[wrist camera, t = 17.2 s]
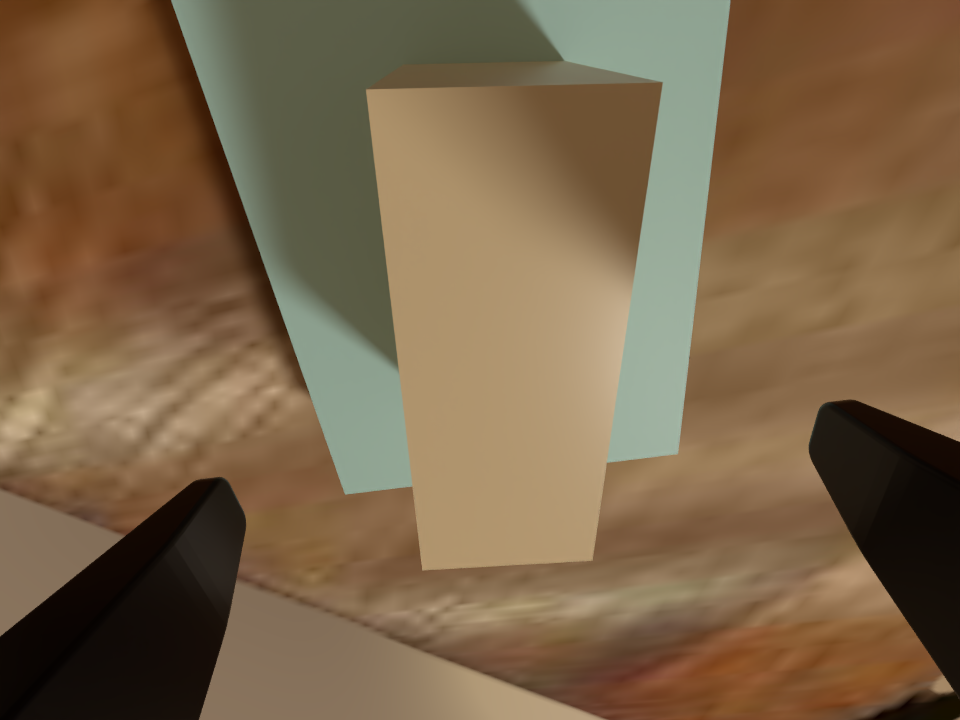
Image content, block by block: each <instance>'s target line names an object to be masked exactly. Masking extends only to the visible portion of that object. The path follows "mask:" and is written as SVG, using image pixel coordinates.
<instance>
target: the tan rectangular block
mask: <svg viewBox="0 0 960 720" xmlns="http://www.w3.org/2000/svg"><path fill="white" fill-rule="evenodd" d="M662 85H663V82H659V81H654V80H650V79H645V78H641V77H636V76H631V75H627V74H622V73H618V72H613V71H609V70H604V69H600V68H595V67H590V66H586V65H581V64H577V63H572V62H568V61H536V62H491V63H446V64H403V65H402V66H400V67H399V68H397V69H396V70H394V71H393V72H391V73H390V74H388V75H387V76H385V77H384V78H382V79H381V80H379V81H378V82H376V83H375V84H373V85H372V86H370V87H369V88H367V89H366V94H367V103H368V112H369V120H370V129H371V137H372V146H373V154H374V163H375V171H376V180H377V188H378V197H379V205H380V214H381V222H382V231H383V239H384V248H385V256H386V265H387V273H388V282H389V290H390V299H391V307H392V316H393V324H394V333H395V341H396V350H397V358H398V367H399V375H400V384H401V392H402V401H403V409H404V418H405V426H406V435H407V443H408V452H409V460H410V469H411V477H412V486H413V494H414V503H415V511H416V520H417V528H418V537H419V545H420V554H421V563H422V570H436V569H453V568H471V567H488V566H506V565H523V564H541V563H558V562H576V561H592V559H593V552H594V546H595V539H596V532H597V525H598V519H599V512H600V505H601V498H602V492H603V485H604V478H605V471H606V464H607V458H608V451H609V444H610V437H611V431H612V424H613V417H614V410H615V404H616V397H617V390H618V383H619V376H620V370H621V363H622V356H623V349H624V343H625V336H626V329H627V322H628V316H629V309H630V302H631V295H632V289H633V282H634V275H635V268H636V261H637V255H638V248H639V241H640V234H641V228H642V221H643V214H644V207H645V201H646V194H647V187H648V180H649V173H650V167H651V160H652V153H653V146H654V140H655V133H656V126H657V119H658V113H659V106H660V99H661V92H662Z"/></svg>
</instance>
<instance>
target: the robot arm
mask: <svg viewBox="0 0 960 720" xmlns="http://www.w3.org/2000/svg"><path fill="white" fill-rule="evenodd" d="M809 454H810V458H811V460H812V462H813V464H814V466H815V468H816V470H817V472H818V474H819V475H820V477H821V479H822V481H823V483H824V485H825V487H826V489H827V490H828V492H829V494H830V496H831V498H832V500H833V502H834V504H835V505H836V507H837V509H838V511H839V513H840V515H841V517H842V518H843V520H844V522H845V524H846V526H847V528H848V530H849V532H850V533H851V535H852V537H853V539H854V541H855V542H856V544H857V546H858V547H859V549H860V551H861V552H862V554H863V556H864V557H865V559H866V560H867V562H868V563H869V565H870V567H871V568H872V570H873V571H874V573H875V574H876V576H877V577H878V578H879V580H880V581H881V583H882V584H883V586H884V587H885V589H886V590H887V592H888V593H889V595H890V596H891V598H892V599H893V601H894V602H895V604H896V605H897V607H898V608H899V610H900V611H901V613H902V614H903V616H904V617H905V619H906V620H907V622H908V623H909V625H910V626H911V628H912V629H913V630H914V632H915V633H916V635H917V636H918V638H919V639H920V641H921V642H922V644H923V645H924V647H925V648H926V650H927V651H928V653H929V654H930V656H931V657H932V659H933V660H934V662H935V663H936V665H937V666H938V668H939V669H940V671H941V672H942V674H943V675H944V676H945V678H946V680H947V681H948V682H949V684H950V685H951V687H952V688H953V690H954V691H955V693H956V694H957V696H958V697H959V699H960V442H959V441H956V440H954V439H951V438H949V437H946V436H944V435H941V434H939V433H936V432H934V431H931V430H929V429H926V428H924V427H921V426H919V425H916V424H914V423H911V422H909V421H906V420H904V419H901V418H899V417H896V416H894V415H891V414H889V413H886V412H884V411H881V410H879V409H876V408H874V407H871V406H869V405H866V404H864V403H861V402H859V401H856V400H842V401H834V402H827V403H825V404H823V405H822V406H821V407H820V408H819V411H818V414H817V417H816V421H815V424H814V428H813V431H812V435H811V438H810V442H809ZM245 531H246V518H245V514H244V511H243V509H242V507H241V505H240V503H239V501H238V499H237V497H236V496H235V494H234V492H233V490H232V488H231V486H230V484H229V482H228V481H227V480H226V479H225V478H222V477H214V478H206V479H199V480H196V481H194V482H192V483H191V484H190V485H188V486H187V487H186V488H185V489H183V490H182V491H181V492H180V493H178V494H177V495H176V496H175V497H173V498H172V499H171V500H170V501H168V502H167V503H166V504H165V505H163V506H162V507H161V508H160V509H158V510H157V511H156V512H155V513H153V514H152V515H151V516H150V517H148V518H147V519H146V520H145V521H143V522H142V523H141V524H140V525H138V526H137V527H136V528H135V529H133V530H132V531H131V532H130V533H129V534H127V535H126V536H125V537H124V538H122V539H121V540H120V541H119V542H117V543H116V544H115V545H114V546H112V547H111V548H110V549H109V550H107V551H106V552H105V553H104V554H102V555H101V556H100V557H99V558H97V559H96V560H95V561H94V562H92V563H91V564H90V565H89V566H87V567H86V568H85V569H84V570H82V571H81V572H80V573H79V574H77V575H76V576H75V577H74V578H73V579H71V580H70V581H69V582H67V583H66V584H65V585H64V586H63V587H61V588H60V589H59V590H57V591H56V592H55V593H54V594H52V595H51V596H50V597H49V598H48V599H46V600H45V601H44V602H43V603H41V604H40V605H39V606H38V607H36V608H35V609H34V610H33V611H31V612H30V613H29V614H28V615H26V616H25V617H24V618H23V619H21V620H20V621H19V622H18V623H16V624H15V625H14V626H13V627H12V628H10V629H9V630H8V631H6V632H5V633H4V634H3V635H1V636H0V720H199V717H200V714H201V711H202V708H203V704H204V701H205V698H206V694H207V691H208V688H209V684H210V681H211V678H212V675H213V671H214V668H215V665H216V661H217V658H218V655H219V651H220V648H221V645H222V641H223V637H224V634H225V631H226V627H227V623H228V618H229V614H230V609H231V604H232V599H233V593H234V588H235V583H236V578H237V573H238V567H239V562H240V557H241V552H242V546H243V541H244V536H245Z"/></svg>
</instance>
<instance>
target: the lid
mask: <svg viewBox="0 0 960 720" xmlns="http://www.w3.org/2000/svg"><path fill="white" fill-rule="evenodd" d="M171 1H172V4H173V7H174V10H175V13H176V16H177V19H178V21H179V24H180V27H181V30H182V33H183V36H184V38H185V41H186V44H187V47H188V50H189V53H190V55H191V58H192V61H193V64H194V67H195V70H196V72H197V75H198V78H199V81H200V84H201V87H202V90H203V92H204V95H205V98H206V101H207V104H208V107H209V109H210V112H211V115H212V118H213V121H214V124H215V126H216V129H217V132H218V135H219V138H220V141H221V143H222V146H223V149H224V152H225V155H226V158H227V160H228V163H229V166H230V169H231V172H232V175H233V178H234V180H235V183H236V186H237V189H238V192H239V195H240V197H241V200H242V203H243V206H244V209H245V212H246V214H247V217H248V220H249V223H250V226H251V229H252V231H253V234H254V237H255V240H256V243H257V246H258V249H259V251H260V254H261V257H262V260H263V263H264V266H265V268H266V271H267V274H268V277H269V280H270V283H271V285H272V288H273V291H274V294H275V297H276V300H277V302H278V305H279V308H280V311H281V314H282V317H283V319H284V322H285V325H286V328H287V331H288V334H289V337H290V339H291V342H292V345H293V348H294V351H295V354H296V356H297V359H298V362H299V365H300V368H301V371H302V373H303V376H304V379H305V382H306V385H307V388H308V390H309V393H310V396H311V399H312V402H313V405H314V408H315V410H316V413H317V416H318V419H319V422H320V425H321V427H322V430H323V433H324V436H325V439H326V442H327V444H328V447H329V450H330V453H331V456H332V459H333V461H334V464H335V467H336V470H337V473H338V476H339V478H340V481H341V484H342V487H343V490H344V493H345V494H353V493H361V492H370V491H378V490H386V489H394V488H402V487H411V486H412V477H411V469H410V460H409V452H408V443H407V435H406V426H405V418H404V409H403V401H402V392H401V384H400V375H399V367H398V358H397V350H396V341H395V333H394V324H393V316H392V307H391V299H390V290H389V282H388V273H387V265H386V256H385V248H384V239H383V231H382V222H381V214H380V205H379V197H378V188H377V180H376V171H375V163H374V154H373V146H372V137H371V129H370V120H369V112H368V103H367V94H366V89H367V88H369V87H370V86H372V85H373V84H375V83H376V82H378V81H379V80H381V79H382V78H384V77H385V76H387V75H388V74H390V73H391V72H393V71H394V70H396V69H397V68H399V67H400V66H402V65H403V64H446V63H491V62H536V61H568V62H572V63H577V64H581V65H586V66H590V67H595V68H600V69H604V70H609V71H613V72H618V73H622V74H627V75H631V76H636V77H641V78H645V79H650V80H654V81H659V82H663V85H662V92H661V99H660V106H659V113H658V119H657V126H656V133H655V140H654V146H653V153H652V160H651V167H650V173H649V180H648V187H647V194H646V201H645V207H644V214H643V221H642V228H641V234H640V241H639V248H638V255H637V261H636V268H635V275H634V282H633V289H632V295H631V302H630V309H629V316H628V322H627V329H626V336H625V343H624V349H623V356H622V363H621V370H620V376H619V383H618V390H617V397H616V404H615V410H614V417H613V424H612V431H611V437H610V444H609V451H608V458H607V463H608V462H616V461H624V460H632V459H641V458H649V457H657V456H665V455H674V454H678V449H679V440H680V432H681V423H682V414H683V406H684V397H685V388H686V380H687V371H688V363H689V354H690V345H691V337H692V328H693V319H694V311H695V302H696V293H697V285H698V276H699V268H700V259H701V250H702V242H703V233H704V224H705V216H706V207H707V198H708V190H709V181H710V172H711V164H712V155H713V147H714V138H715V129H716V121H717V112H718V103H719V95H720V86H721V77H722V69H723V60H724V52H725V43H726V34H727V26H728V17H729V8H730V0H171Z"/></svg>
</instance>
